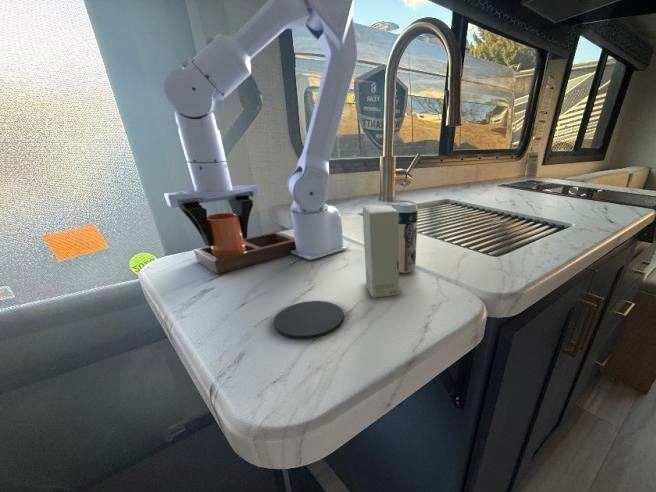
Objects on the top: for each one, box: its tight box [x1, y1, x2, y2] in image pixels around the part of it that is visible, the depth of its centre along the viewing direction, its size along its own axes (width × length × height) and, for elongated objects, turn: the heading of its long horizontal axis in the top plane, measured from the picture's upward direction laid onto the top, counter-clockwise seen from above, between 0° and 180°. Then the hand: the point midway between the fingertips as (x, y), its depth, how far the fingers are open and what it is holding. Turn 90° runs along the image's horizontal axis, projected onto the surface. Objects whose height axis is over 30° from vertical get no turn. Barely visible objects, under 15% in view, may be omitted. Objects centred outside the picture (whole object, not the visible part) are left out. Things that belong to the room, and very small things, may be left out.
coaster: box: [273, 300, 345, 340], centre depth 42 cm, size 9×9×1 cm
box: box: [362, 205, 400, 298], centre depth 47 cm, size 5×4×13 cm
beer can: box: [390, 200, 419, 274], centre depth 55 cm, size 5×5×12 cm
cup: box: [207, 212, 246, 258], centre depth 58 cm, size 6×6×8 cm
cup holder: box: [193, 231, 296, 275], centre depth 62 cm, size 9×17×2 cm, turn 140°
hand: (227, 241), depth 58 cm, fingers closed on cup, 5 cm apart
